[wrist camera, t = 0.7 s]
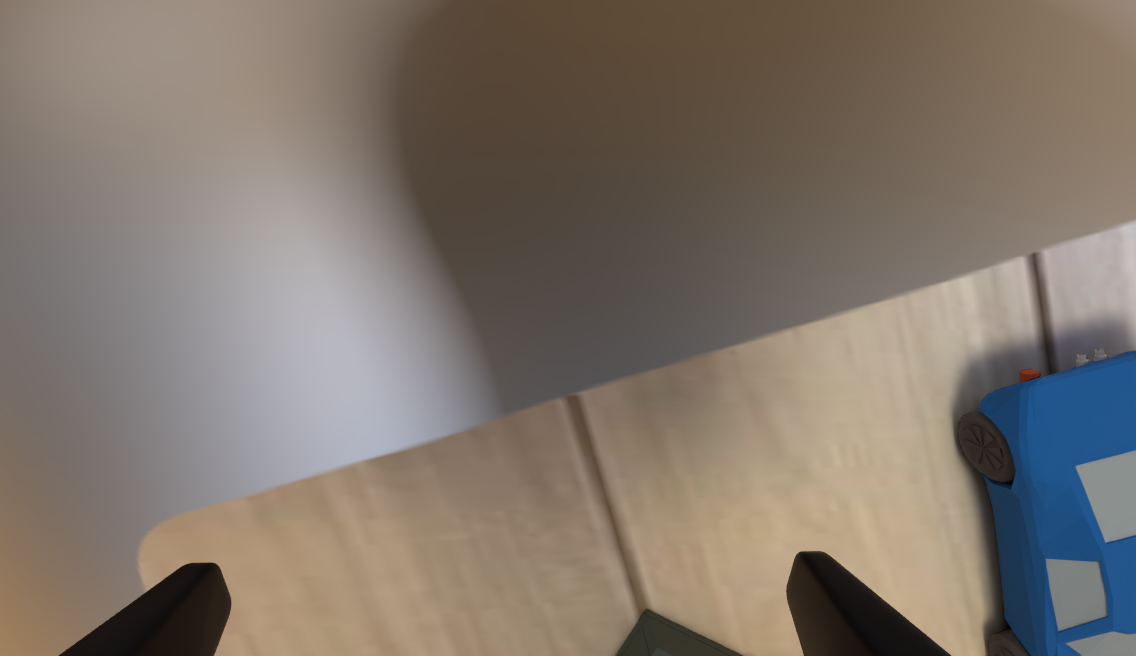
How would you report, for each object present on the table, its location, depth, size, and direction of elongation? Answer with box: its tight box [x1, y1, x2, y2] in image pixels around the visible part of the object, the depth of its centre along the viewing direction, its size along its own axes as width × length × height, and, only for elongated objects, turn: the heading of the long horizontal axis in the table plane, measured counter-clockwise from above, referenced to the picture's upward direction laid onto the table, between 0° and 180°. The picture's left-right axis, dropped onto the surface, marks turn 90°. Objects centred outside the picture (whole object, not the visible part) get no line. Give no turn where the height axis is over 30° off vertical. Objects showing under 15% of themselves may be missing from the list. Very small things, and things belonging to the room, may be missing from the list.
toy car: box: [958, 349, 1136, 656], centre depth 24 cm, size 9×20×5 cm, turn 15°
